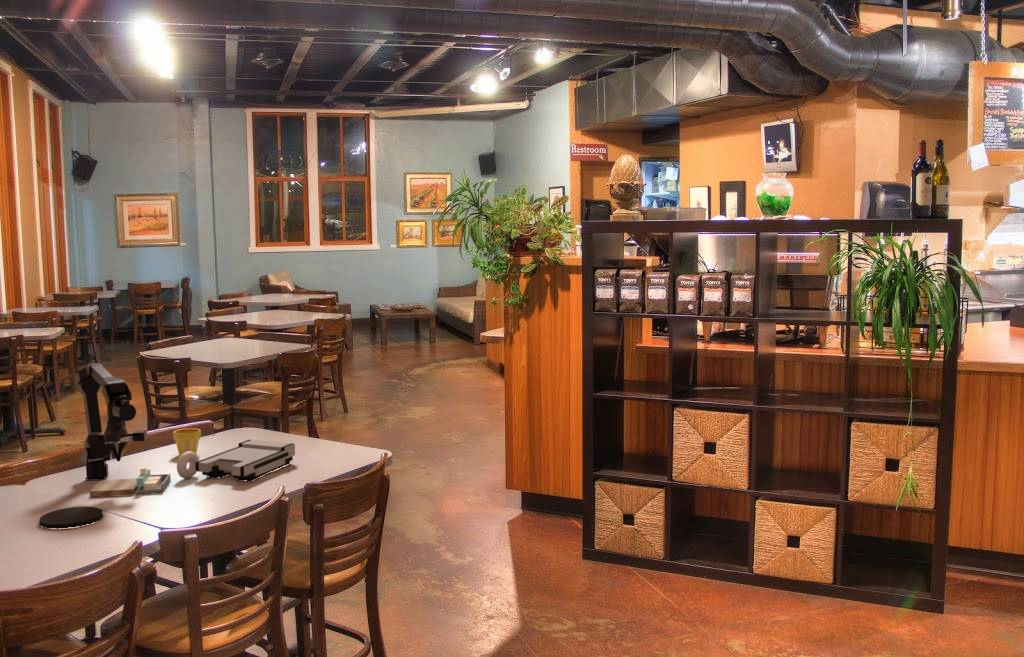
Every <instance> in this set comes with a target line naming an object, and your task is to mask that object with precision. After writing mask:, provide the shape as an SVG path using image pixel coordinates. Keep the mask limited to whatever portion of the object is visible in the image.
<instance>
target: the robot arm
mask: <svg viewBox="0 0 1024 657" xmlns="http://www.w3.org/2000/svg"><path fill="white" fill-rule="evenodd" d="M73 378H74V384H75V385H76V389H77V391H78V392H79V393H80V394H81V396H82V398H83V406H84V414H85V419H86V420H85V421H86V427H87V428H86V429H87V435H86V438H85V441H84V443H83V444H84V448H83V450H82V453H81V455H80V460H81V463H82V464H85V471H86V472H85V473H86V478H85V479H86V480H85V481H88V480H87V479H102V480H106V478H107V477H108V476H109V464H108V463H107V461H109V462H110V461H111V459H112V458H111V456H112V455H111V454H112V453H113V455H114V457H115V459H116V461H117V462H121V461H122V460H121V459H122V457H123V455H124V450H125V448H126V446H127V445H128V444H129V443H130V442H131V440H133V441H134V442H144V441H146V440H148V437H149V436H148V435H149V434H148V431H147V430H146V429H140V430H134V431H133V432H132V433H131V432H128V429H127V424H126V422H129V421H133V420H134V418H135V416H136V415H137V409H136V407H135V406H134V405H133V404H131V402H130V401H132V400H133V398H132V396H133V395H132V391H131V389H130V387H129V385H128V383H127V382H126V381H125V380H124V379H122V378H119V377H114V376H113V375H112V374H111V373H110V372H109V371H108V370H107V369H106V368H105V367H104V364H102V363H97V362H96V363H88V364H87V365H86V366H85V367H84V368H81V369H80V370H78V371H77V372H76V373H75V375H74V377H73ZM100 389H101V393H102V395H103V398H104V399H105V401H104V402H105V403H106V414H107V415H106V416H107V417H106V418H107V421H106V428H105V429H104V430H105V431H104V433H103V429H102V421H101V414H100V413H101V412H100V406H99V399H98V398H99V397H98V393H99V391H100Z"/></svg>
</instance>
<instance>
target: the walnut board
mask: <svg viewBox="0 0 1024 657" xmlns="http://www.w3.org/2000/svg"><path fill="white" fill-rule="evenodd" d="M137 478H138V477H137ZM137 478H136V477H135V478H121V479H119V478H118V479H102V480H99V481H98V482H97V483H96V484H95V485H94V486H93V488H91V490H89V498H94V497H93V496H103V497H117V496H118V495H121V496H134V495H135V492H136V490H137V489H138V488H139V487H137ZM115 495H117V496H115Z"/></svg>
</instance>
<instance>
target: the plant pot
mask: <svg viewBox="0 0 1024 657" xmlns="http://www.w3.org/2000/svg"><path fill="white" fill-rule="evenodd" d="M172 435H173V436H172V437H173V440H174V441H175V446H176V448H177V452H178V455H179V457H180V456H181V455H182V454H183V453H185V452H187V451H192V452H194V453H195V454H196V453H197V454H198V448H199V441H200V439H201V437H202V431H201V429H199V428H195V427H193V428H189V427H188V428H179V429H176V430H174V431H173V434H172ZM197 454H196V455H197Z"/></svg>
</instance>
